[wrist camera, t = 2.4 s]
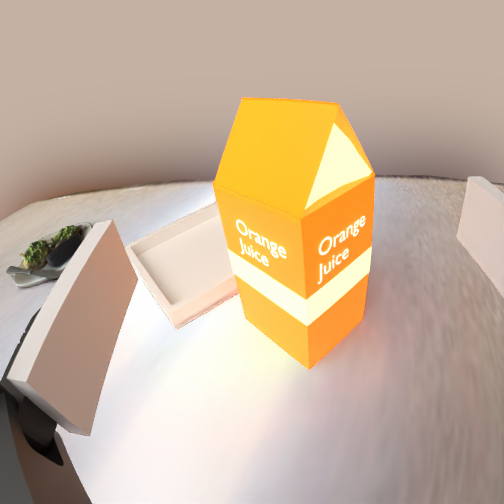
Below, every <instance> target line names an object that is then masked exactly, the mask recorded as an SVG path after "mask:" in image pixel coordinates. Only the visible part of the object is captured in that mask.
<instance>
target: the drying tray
mask: <svg viewBox="0 0 504 504" xmlns="http://www.w3.org/2000/svg"><path fill="white" fill-rule="evenodd" d="M124 248H125V250H126V253H127V255H128V257H129V260H130V262H131V264H132V265H133V267H134V268H135V270H136V272H137V273H138V275H139V276H140V278H141V279H142V281H143V282H144V284H145V286H146V287H147V289H148V290H149V292H150V293H151V295H152V296H153V298H154V299H155V301H156V302H157V304H158V305H159V307H160V308H161V310H162V311H163V312H164V314H165V315H166V317H167V318H168V320H169V321H170V323H171V324H172V325H173V327H174V328H175V330H177V329H179V328H180V327H182V326H184V325H185V324H187V323H189V322H191V321H192V320H194V319H196V318H197V317H199V316H201V315H202V314H204V313H206V312H207V311H209V310H211V309H212V308H214V307H216V306H217V305H219V304H221V303H222V302H224V301H226V300H227V299H229V298H231V297H232V296H234V295H236V294H237V293H239V290H238V286H237V282H236V278H235V274H234V273H233V269H232V265H231V261H230V257H229V253H228V246H227V242H226V238H225V234H224V230H223V226H222V221H221V217H220V213H219V209H218V205H217V202H215V203H212V204H210V205H208V206H206V207H204V208H202V209H200V210H198V211H195V212H193V213H191V214H189V215H187V216H185V217H183V218H181V219H179V220H177V221H175V222H173V223H171V224H168V225H166V226H164V227H162V228H160V229H158V230H156V231H154V232H152V233H150V234H148V235H146V236H144V237H142V238H141V239H139V240H137V241H135V242H133V243H131V244H129V245H127V246H125V247H124Z"/></svg>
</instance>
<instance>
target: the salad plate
mask: <svg viewBox="0 0 504 504" xmlns="http://www.w3.org/2000/svg"><path fill="white" fill-rule="evenodd" d="M92 227H93V226H92V225H91V224H90V223H85V222H83V223H78V224H76V225H72V226H67V227H65V228H64V229H61V230H60V231H59V232H56V233H53V234H50V235H48V236H45V237H43V238H41V239H40V240H38V241H37V242H34V243H32V244H30V247H29V249H27V250H26V251H25V254H20V256H22V257H23V260H22V262H21V264H20V266H19V267H14V266H10V267H9V268H8V269H7V271H6V272H7V274H11V275H14V278H13V281H14V283H15V284H16V285H17V286H18V287H30V286H34V285H37V284H40V283H44V282H48V281H52V280H55V279H58V278H59V277H60V275H61V274H62V272H63V271H64V269H65V267H66V266H67V264H68V263H69V261H70V260H71V258H72V257H73V255H74V254H75V252H76V251H77V249H78V248H79V246H80V245H81V243H82V242H83V240H84V239H85V237H86V236H87V234H88V233H89V232H90V230H91V229H92ZM50 245H51V247H49V246H50Z"/></svg>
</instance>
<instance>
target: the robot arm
mask: <svg viewBox="0 0 504 504" xmlns="http://www.w3.org/2000/svg"><path fill="white" fill-rule="evenodd" d="M456 238H457V239H458V240H459V241H460V242H461V244H462V245H463V246H464V247H465V248H466V250H467V251H468V252H469V253H470V254H471V256H472V257H473V258H474V259H475V261H476V262H477V263H478V264H479V266H480V267H481V268H482V270H483V271H484V272H485V274H486V275H487V276H488V277H489V279H490V280H491V281H492V283H493V284H494V286H495V287H496V288H497V290H498V291H499V293H500V294H501V295H502V297H503V298H504V193H503V192H501V191H500V190H499V189H498V188H496V187H495V186H494V185H492V184H491V183H490V182H488V181H487V180H486V179H485V178H483V177H481V176H479V177H468V181H467V187H466V193H465V199H464V204H463V209H462V214H461V219H460V224H459V228H458V232H457V236H456ZM137 281H138V278H137V275H136V273H135V271H134V269H133V267H132V264H131V262H130V260H129V257H128V255H127V253H126V250H125V248H124V246H123V243H122V241H121V239H120V236H119V234H118V231H117V229H116V226H115V224H114V221H113V220H108V221H104V222H99V223H95V225H94V226H93V227H92V229H91V230H90V232H89V233H88V234H87V236H86V237H85V239H84V240H83V242H82V243H81V245H80V246H79V248H78V249H77V251H76V252H75V254H74V255H73V257H72V258H71V260H70V261H69V263H68V264H67V266H66V267H65V269H64V271H63V272H62V274H61V275H60V277H59V279H58V280H57V282H56V284H55V285H54V287H53V289H52V290H51V292H50V294H49V295H48V297H47V299H46V300H45V302H44V304H43V306H42V307H41V308H40V309H39V310H38V311H37V312H36V313H35V315H34V316H33V317H32V318H31V320H30V322H29V324H28V326H27V328H26V329H25V331H26V332H25V333H23V335H22V337H21V339H20V343H18V345H17V347H16V349H15V351H14V353H13V355H12V357H11V360H10V362H9V364H8V366H7V368H6V370H5V373H4V375H3V377H2V379H1V381H0V504H92V503H91V501H90V499H89V497H88V495H87V493H86V491H85V489H84V487H83V485H82V483H81V481H80V479H79V477H78V475H77V473H76V471H75V469H74V467H73V464H72V462H71V460H70V458H69V455H68V453H67V451H66V448H65V446H64V443H63V441H62V438H61V437H60V435H59V434H58V432H56V431H55V429H56V425H57V423H58V424H59V425H60V426H61V427H63V428H64V429H65V430H67V431H68V432H70V433H75V434H80V435H85V436H90V433H91V429H92V425H93V421H94V417H95V413H96V409H97V405H98V401H99V398H100V394H101V390H102V387H103V383H104V380H105V376H106V373H107V370H108V366H109V363H110V360H111V356H112V353H113V350H114V347H115V344H116V341H117V338H118V335H119V332H120V329H121V326H122V323H123V320H124V317H125V314H126V311H127V308H128V306H129V303H130V300H131V297H132V295H133V292H134V289H135V287H136V284H137Z"/></svg>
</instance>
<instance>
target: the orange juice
mask: <svg viewBox="0 0 504 504" xmlns="http://www.w3.org/2000/svg"><path fill="white" fill-rule="evenodd" d="M241 99H242V101H241V104H240V107H239V110H238V113H237V115H236V118H235V121H234V124H233V127H232V130H231V133H230V136H229V139H228V142H227V145H226V148H225V150H224V153H223V156H222V160H221V163H220V166H219V169H218V172H217V175H216V178H215V181H214V182H213V183H212V184H213V188H214V192H215V196H216V201H217V205H218V209H219V213H220V217H221V221H222V226H223V230H224V234H225V238H226V242H227V246H228V253H229V257H230V261H231V265H232V269H233V273H234V274H235V278H236V282H237V286H238V290H239V294H240V298H241V302H242V306H243V310H244V314H245V318H246V319H247V320H248V321H249V322H250V323H252V324H253V325H254V326H255V327H256V328H258V329H259V330H260V331H261V332H262V333H264V334H265V335H266V336H267V337H269V338H270V339H271V340H272V341H273V342H275V343H276V344H277V345H278V346H280V347H281V348H282V349H283V350H285V351H286V352H287V353H288V354H290V355H291V356H292V357H293V358H295V359H296V360H297V361H298V362H300V363H301V364H302V365H303V366H305V367H306V368H307V369H310V368H311V367H313V366H314V365H315V364H316V363H317V362H318V361H319V360H320V359H322V358H323V357H324V356H325V355H326V354H327V353H328V352H329V351H330V350H331V349H332V348H334V347H335V346H336V345H337V344H338V343H339V342H340V341H341V340H342V339H343V338H344V337H345V336H346V335H347V334H348V333H349V332H350V331H351V330H352V329H353V328H354V327H355V326H356V325H357V324H358V323H359V322H360V321H361V320H362V319H363V314H364V307H365V299H366V291H367V283H368V274H369V271H370V261H371V250H372V246H371V242H372V229H373V212H374V188H375V174H374V172H373V170H372V168H371V166H370V163H369V161H368V159H367V157H366V155H365V153H364V151H363V149H362V147H361V145H360V143H359V141H358V139H357V137H356V135H355V133H354V132H353V130H352V128H351V126H350V124H349V122H348V120H347V119H346V117H345V115H344V113H343V111H342V110H341V108H340V106H339V104H338V103H330V102H319V101H307V100H292V99H273V98H272V99H271V98H241Z"/></svg>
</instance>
